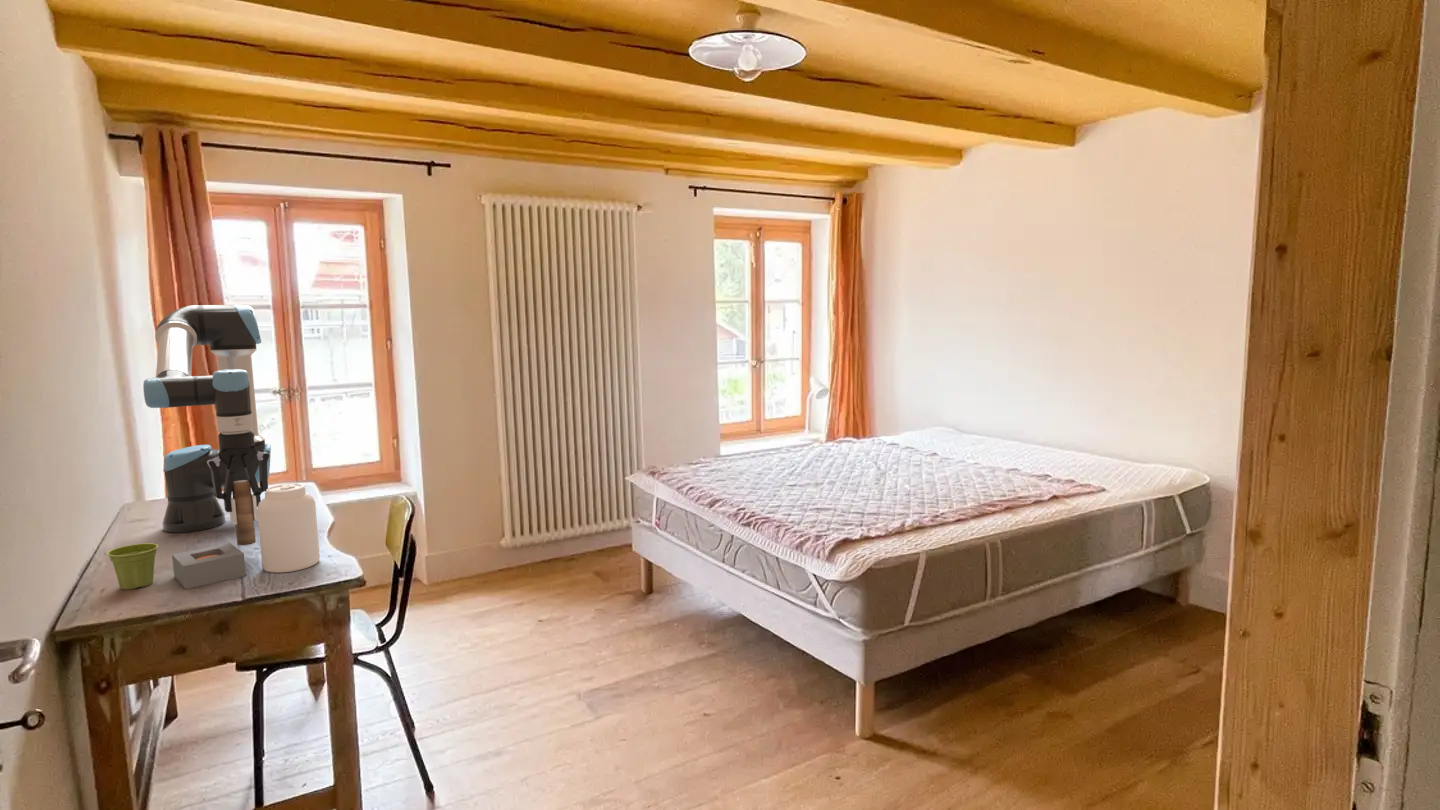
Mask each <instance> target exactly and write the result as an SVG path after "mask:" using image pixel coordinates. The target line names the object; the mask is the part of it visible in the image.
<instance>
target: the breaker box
mask: <svg viewBox="0 0 1440 810" xmlns="http://www.w3.org/2000/svg"><path fill="white" fill-rule="evenodd" d="M207 555H218V556H213V557H208V558H203V559H198V560H196V559H197V558H200V557H203V556H207ZM171 558H172V568H173V569H172V571H173V577H174V578H175V580H177V581H178V582H179V584H180V585H181V586H182V587H183V588H184V589H185V590H190V589H194V588H198V587H203V586H207V585H210V584H215V583H220V582H225V581H229V580H232V579H237V578H242V577H246V576H247V571H246V561H245V552H244V551H243V552H242V551H241V550H240V549H239V548H237V546H235V545H233V544H232V543H230V542H229V543H228V542H227V543H223V544H222V543H221V544H217V545H213V546H209V547H203V548H198V549H194V550H188V551H183V552H178V553H174V554H171Z"/></svg>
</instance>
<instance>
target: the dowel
mask: <svg viewBox="0 0 1440 810" xmlns="http://www.w3.org/2000/svg"><path fill="white" fill-rule="evenodd" d="M251 494H252V489H251V486H250V481H249V480H240V481H235V482H233V488H232V498H233V499H235V506H236V516H237V525H235V534H236V542H237V546H249V545H252V544H255V543H256V539H257V538H256V531H255V521H254V518H253V507H252V496H251Z"/></svg>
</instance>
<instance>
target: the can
mask: <svg viewBox="0 0 1440 810" xmlns="http://www.w3.org/2000/svg"><path fill="white" fill-rule="evenodd" d="M257 515H258V521H257V523H258V534H259V535H258V536H259V544H260V556H261V567H262V568H263V570H264V571H265V572H268V573H277V574H279V573H291V572H296V571H300V570H301V571H302V570H304V569H307V568H310V567H312V566H314V565H315V566H316V564H318V563H319V561H320V557H321V555H320V553H321V552H320V544H319V543H320V541H319V532H318V531H319V529H318V521H317V506H316V500H315V498H314V496H313V495H311V494H310V493H308V492H307V491H306V486H305V485H303V484H298V483H286V484H279V485H273V486H271V487H268V489H267V490H266V491H264V497H263V498H261V501H260V502H259V504H258V507H257Z"/></svg>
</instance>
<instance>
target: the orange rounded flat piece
mask: <svg viewBox="0 0 1440 810" xmlns="http://www.w3.org/2000/svg"><path fill="white" fill-rule="evenodd" d="M213 556H218V555H207V556H203V557H200V558H197V559H196V560H198V559H203V558H208V557H213Z"/></svg>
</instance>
